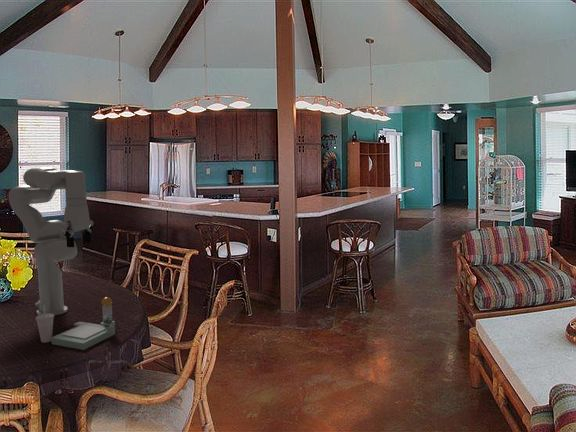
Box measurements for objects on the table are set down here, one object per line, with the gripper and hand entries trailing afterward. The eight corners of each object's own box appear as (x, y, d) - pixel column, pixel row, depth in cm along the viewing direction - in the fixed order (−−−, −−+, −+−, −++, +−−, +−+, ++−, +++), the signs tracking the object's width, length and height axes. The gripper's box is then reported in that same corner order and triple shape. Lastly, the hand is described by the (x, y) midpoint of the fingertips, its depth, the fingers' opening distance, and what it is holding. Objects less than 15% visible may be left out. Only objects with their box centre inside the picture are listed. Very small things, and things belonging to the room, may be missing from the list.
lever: (100, 328, 211) (98, 298, 209) (107, 324, 215) (105, 295, 213) (108, 329, 209) (107, 299, 208) (115, 326, 213) (114, 296, 211)
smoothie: (36, 344, 197) (34, 308, 195) (37, 339, 203) (34, 303, 201) (55, 342, 199) (53, 306, 197) (55, 336, 205) (53, 301, 203)
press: (38, 341, 200) (37, 333, 200) (79, 323, 219) (78, 316, 219) (83, 349, 192) (83, 342, 192) (121, 330, 212) (121, 323, 211)
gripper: (83, 200, 221) (86, 240, 223) (52, 204, 204) (55, 248, 207) (98, 200, 218) (101, 241, 221) (68, 204, 202) (71, 249, 204)
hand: (79, 244), depth 214 cm, fingers open, 9 cm apart
